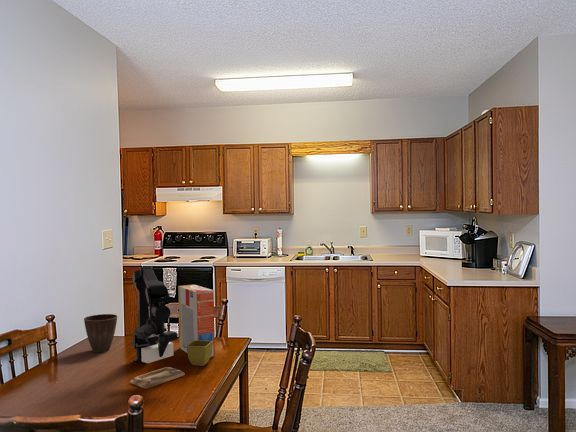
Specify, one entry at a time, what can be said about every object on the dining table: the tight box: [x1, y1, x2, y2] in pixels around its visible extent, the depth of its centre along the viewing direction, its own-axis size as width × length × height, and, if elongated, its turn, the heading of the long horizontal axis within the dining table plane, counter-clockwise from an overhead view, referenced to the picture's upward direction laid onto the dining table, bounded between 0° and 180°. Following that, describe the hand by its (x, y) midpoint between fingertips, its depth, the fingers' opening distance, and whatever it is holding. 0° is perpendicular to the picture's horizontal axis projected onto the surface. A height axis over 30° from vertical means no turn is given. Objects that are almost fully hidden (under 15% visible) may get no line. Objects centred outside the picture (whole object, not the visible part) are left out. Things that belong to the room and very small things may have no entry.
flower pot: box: [186, 340, 213, 367], centre depth 201 cm, size 9×9×9 cm
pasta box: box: [177, 284, 216, 359], centre depth 219 cm, size 23×8×30 cm, turn 33°
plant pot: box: [83, 313, 118, 353], centre depth 225 cm, size 15×15×16 cm
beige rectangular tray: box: [129, 366, 186, 389], centre depth 183 cm, size 10×18×3 cm, turn 142°
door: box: [141, 341, 174, 364], centre depth 184 cm, size 4×12×5 cm, turn 142°
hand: (157, 355), depth 183 cm, fingers closed on door, 4 cm apart
